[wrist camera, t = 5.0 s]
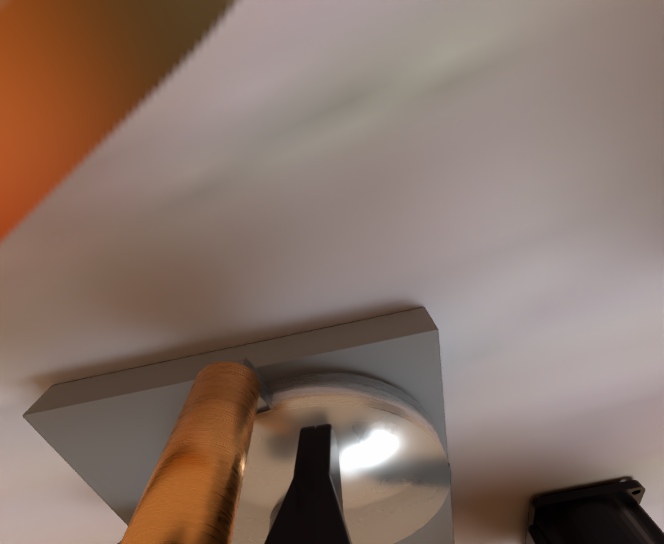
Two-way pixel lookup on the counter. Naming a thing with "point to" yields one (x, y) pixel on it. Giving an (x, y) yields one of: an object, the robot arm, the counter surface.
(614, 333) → the counter surface
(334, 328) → the stand
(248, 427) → the dial
